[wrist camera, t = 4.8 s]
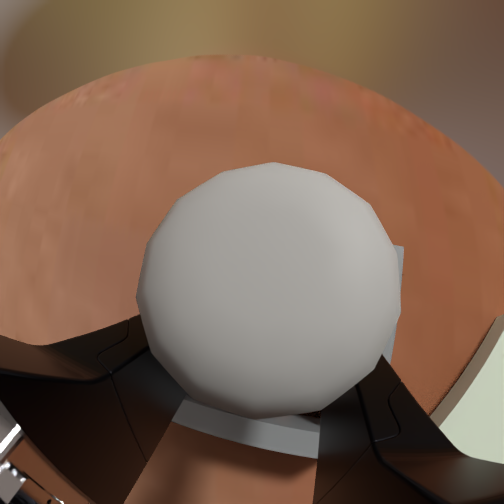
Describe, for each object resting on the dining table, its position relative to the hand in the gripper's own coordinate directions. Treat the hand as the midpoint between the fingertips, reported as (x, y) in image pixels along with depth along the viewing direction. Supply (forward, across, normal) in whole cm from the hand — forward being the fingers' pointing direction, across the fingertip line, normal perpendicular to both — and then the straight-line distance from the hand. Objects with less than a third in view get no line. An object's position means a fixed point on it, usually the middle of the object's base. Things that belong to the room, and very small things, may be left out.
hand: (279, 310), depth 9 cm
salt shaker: (+5, 0, +6) cm, 8 cm away
